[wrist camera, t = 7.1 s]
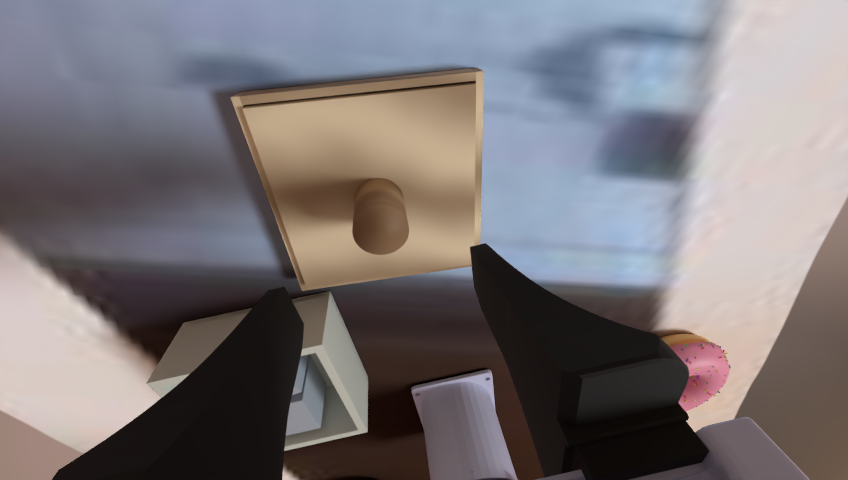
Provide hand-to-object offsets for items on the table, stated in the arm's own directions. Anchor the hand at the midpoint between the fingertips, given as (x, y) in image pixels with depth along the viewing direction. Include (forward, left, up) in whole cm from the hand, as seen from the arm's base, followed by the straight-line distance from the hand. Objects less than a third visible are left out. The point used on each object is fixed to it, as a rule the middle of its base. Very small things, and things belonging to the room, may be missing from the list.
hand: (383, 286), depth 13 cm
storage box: (-13, +11, -10) cm, 20 cm away
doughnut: (-27, -24, -10) cm, 38 cm away
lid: (0, 0, -9) cm, 9 cm away
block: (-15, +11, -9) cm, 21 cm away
